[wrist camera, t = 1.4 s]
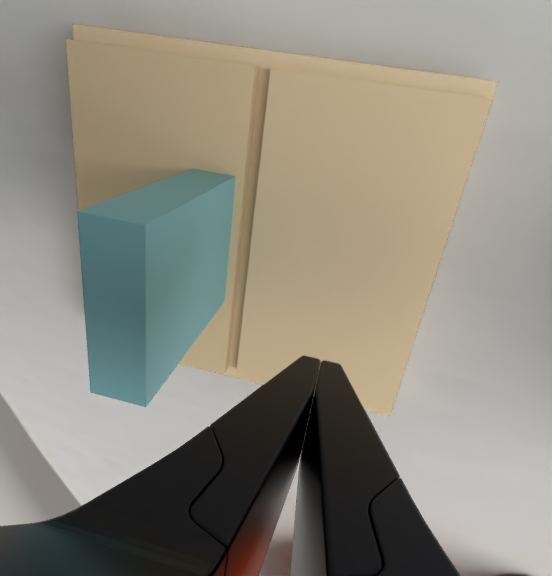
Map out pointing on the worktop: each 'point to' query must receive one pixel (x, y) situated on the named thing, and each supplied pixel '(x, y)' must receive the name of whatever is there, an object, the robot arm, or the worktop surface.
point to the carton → (340, 207)
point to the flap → (158, 209)
